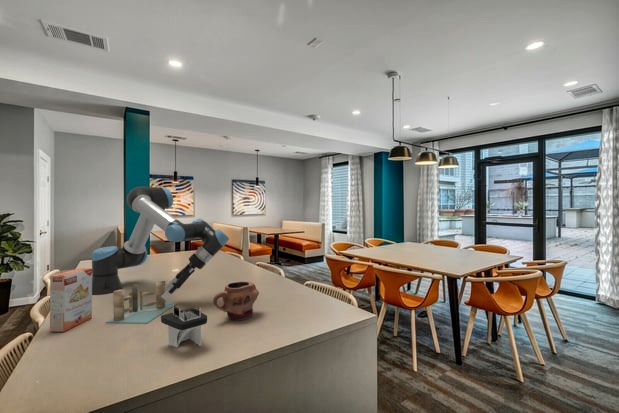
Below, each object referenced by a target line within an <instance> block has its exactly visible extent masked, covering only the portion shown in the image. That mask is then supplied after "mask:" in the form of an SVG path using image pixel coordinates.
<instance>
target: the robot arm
mask: <svg viewBox="0 0 619 413" xmlns="http://www.w3.org/2000/svg"><path fill="white" fill-rule="evenodd" d="M126 202H127V205H128V207H129V208H130V209H131V210H132V211H134V212H135V213H138V214H140V215H139V217H138V219H137V221H136V223H135V226H134V228H133V231H132V232H131V235H130V237H129V239H128V240H127V241H125V242H124V243H123V245H122V247H118V246H115V245H113V246H112V245H111V246H104V247H100V248H97V249H94V250H93V252H91V254H92V255H91V269H92V295H105V294H110V293H113V291H116V290H123V288H122V287H123V286H122V282H121V279H120V276H119V270H121V269H127V268H133V267H134V268H135V267H138V266H140V265H143V264H144V263H145V262H146V261H147V258H148V255H147V254H148V250H147V247H146V243H147V241H148V239H149V237H150V235H151V233H152V231H153V229H154V227H155V225H156V226H157V227H158V228H160V229H161V230H162V231H164V235H165V238H166V240H167V241H169V242H172V243H174V242H176V243H179V242H185V241H190V240H201V242H203V243H202V245H201V246H198V247H197V250H195V253H192V255H190V256H189V257H188V261H189V263H187V264H186V266H184V268H182V269H181V270H180V271H178V273H177V274H176V275H175V277H174V278H172V279H171V280H170V281H169V282H168V283H167V285H165V293H164V294H163V295H162V296H161V297H162V298H164V299H165V301H167V300H168V299H169V298H170V297H171V296H173V294H174V293H175V292H176V291H177V290H178V289H180V288H181V287H182V286H183V285H184V283H185V282H186V281H187V280H188V279H189V278H190V276H191V275H192V274H194V272H196V271H195V269H196V268H197V269H198V270H202V269H203V267H205V266H206V264H208V263H209V262H210V261H211V260H212V259H213V258H214V256H215V255H217V253H218V252H219V251H221V249H222V248H223V247H225V246H226V244H227V243H228V242H229V241H230V238H229V236H228V235H227V234H226V233H225V232H223V231H222V229H221V228H218V229H217V230H215V229H214V228H213V227H212V226H211V225H210V224H209V222H207V221H205V220H204V219H203V218H197V219H195V220H193V221H192V222H190V223H183V222H181V221H180V220H178V219H177V218H176V217H175V216H173V215H172V214H170V213H169V212H167V211H166V210H168V209H171V208H172V207H173V205H174V197H173V193H172V192H171V190H170V189H169V188H167V187H161V186H157V187H156V186H136V187H135V188H132V189H130V191H129V193H128V194H127V195H126Z"/></svg>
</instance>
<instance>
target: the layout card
mask: <svg viewBox="0 0 619 413" xmlns="http://www.w3.org/2000/svg"><path fill="white" fill-rule="evenodd" d="M143 303H151V302H148V301H146V302H145V301H144V302H143ZM177 303H178V302H165V308H162V309H157V308H156V305H154V306H147V307H143V309H142V310H140V303H138V311H137V312H132V313H129V311H128V312H126V313H124V320H121V321H114V317H112V318H110V319H108V320H107V321H105V324H143V325H144V324H145V325H147V324H149V323H151V322H153V320H155V319H156V318H158V317H159V316H160V317H161V316H162V315H163V314H164V313H166V312H167V311H169V310H170V309H171V307H172V308H173V305H175V306H176V305H177ZM162 313H163V314H162Z"/></svg>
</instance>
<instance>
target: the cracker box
mask: <svg viewBox="0 0 619 413" xmlns="http://www.w3.org/2000/svg"><path fill="white" fill-rule="evenodd" d="M49 283H50V284H49V286H50V287H49V290H50V291H49V332H50V333H52V332H53V333H58V332H59V333H66V332H67V331H69V330H72V329H73V328H75V327H77V326H79V325H81V324H84V323H86V322H87V321H89V320H91V319H92V318H93V314H92V313H93V312H92V311H93V294H92V267H91V268H90V267H86V268H85V267H84V268H83V267H81V268H80V267H79V268H76V269H72V270H68V271H64V272H59V273H56V274H51V275H50V279H49Z"/></svg>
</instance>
